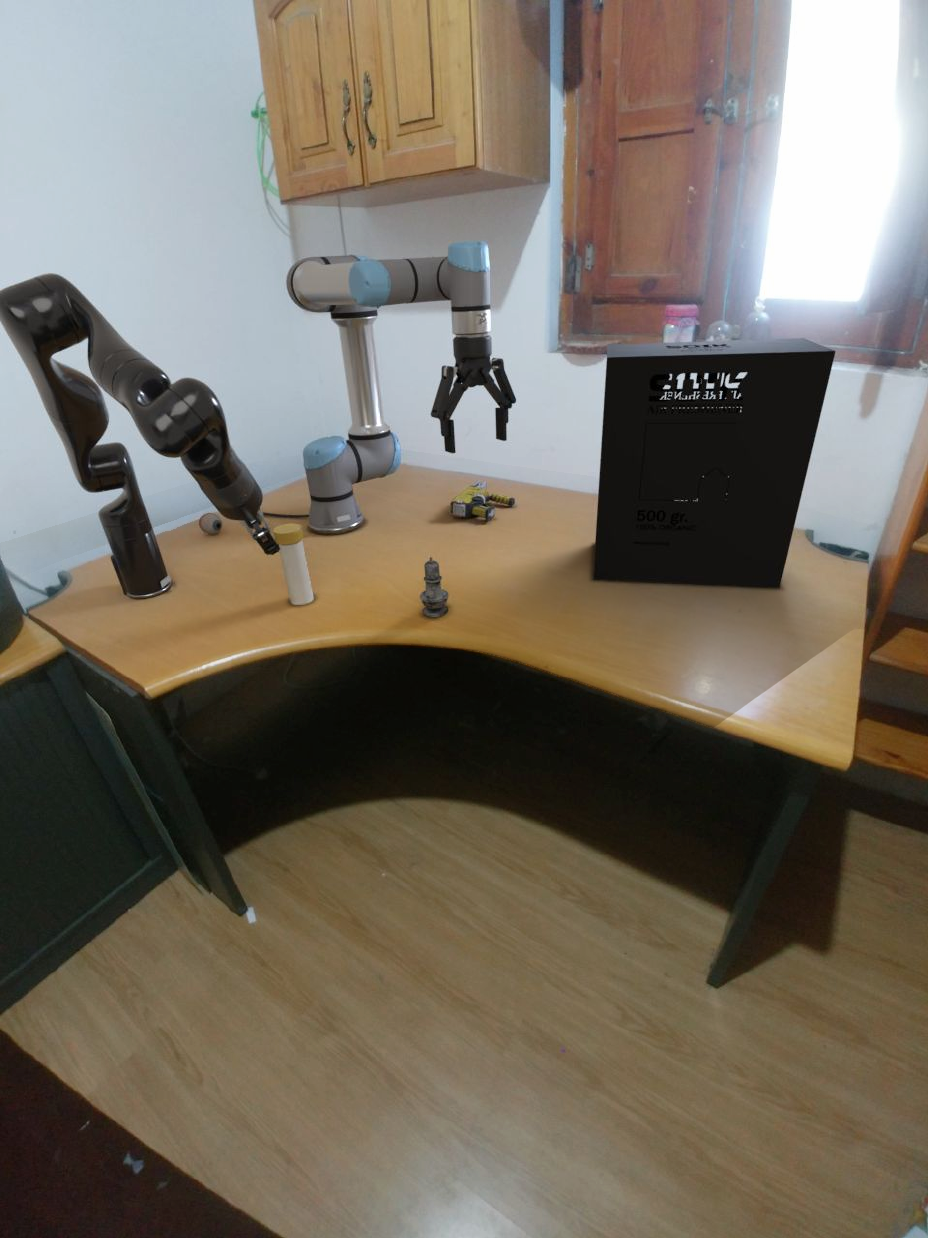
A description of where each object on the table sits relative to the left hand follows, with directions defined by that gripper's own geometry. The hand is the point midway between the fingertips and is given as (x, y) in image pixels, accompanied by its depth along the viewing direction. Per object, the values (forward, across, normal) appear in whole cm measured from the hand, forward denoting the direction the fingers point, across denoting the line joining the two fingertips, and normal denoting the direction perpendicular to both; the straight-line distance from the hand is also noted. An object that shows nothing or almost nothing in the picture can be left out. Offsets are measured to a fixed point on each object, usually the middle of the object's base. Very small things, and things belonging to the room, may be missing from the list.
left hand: (263, 533), depth 108 cm
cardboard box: (+29, +41, +74) cm, 89 cm away
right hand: (+12, -1, +46) cm, 48 cm away
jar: (+25, +3, -2) cm, 25 cm away
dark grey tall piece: (+19, +23, +21) cm, 36 cm away
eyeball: (+54, -41, -14) cm, 69 cm away
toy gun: (+59, -8, +56) cm, 81 cm away
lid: (+13, -6, +4) cm, 15 cm away
